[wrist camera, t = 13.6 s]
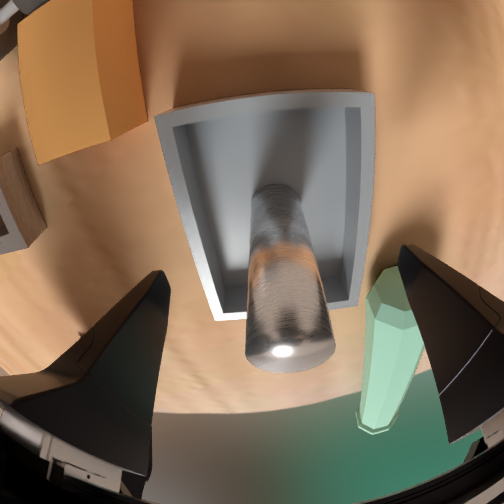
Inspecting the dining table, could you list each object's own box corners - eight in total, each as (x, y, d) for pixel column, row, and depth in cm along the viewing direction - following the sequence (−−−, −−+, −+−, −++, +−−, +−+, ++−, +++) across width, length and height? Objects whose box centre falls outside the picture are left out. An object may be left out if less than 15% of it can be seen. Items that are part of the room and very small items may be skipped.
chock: (149, 120, 11) (111, 140, 8) (84, 139, 11) (38, 165, 8) (133, -4, 7) (92, -24, 4) (67, 26, 7) (17, 24, 4)
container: (405, 338, 11) (369, 443, 25) (468, 279, 12) (406, 416, 26) (339, 277, 16) (347, 411, 30) (403, 237, 17) (382, 387, 31)
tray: (347, 277, 17) (357, 305, 15) (218, 290, 17) (214, 320, 15) (352, 89, 10) (374, 93, 8) (172, 108, 11) (154, 116, 9)
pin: (301, 224, 14) (330, 368, 7) (254, 228, 14) (251, 375, 8) (298, 181, 12) (340, 321, 6) (247, 186, 12) (238, 331, 6)
